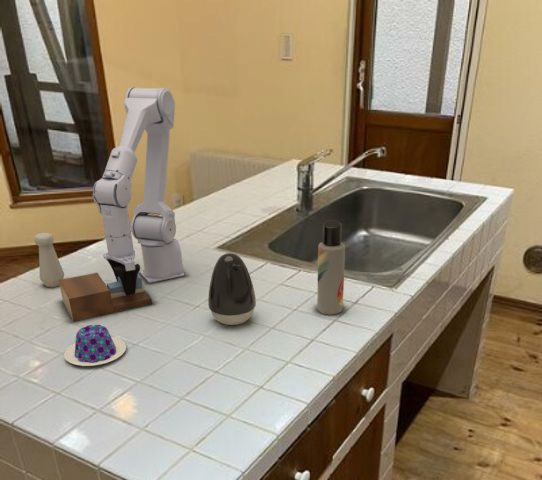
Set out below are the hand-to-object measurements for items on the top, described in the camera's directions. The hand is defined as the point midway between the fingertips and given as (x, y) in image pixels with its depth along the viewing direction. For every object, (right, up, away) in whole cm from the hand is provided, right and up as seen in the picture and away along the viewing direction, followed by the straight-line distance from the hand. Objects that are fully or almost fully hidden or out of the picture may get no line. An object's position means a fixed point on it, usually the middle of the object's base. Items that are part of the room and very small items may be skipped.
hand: (126, 289), depth 143 cm
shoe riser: (-4, -3, -1) cm, 6 cm away
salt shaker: (-21, +2, +10) cm, 23 cm away
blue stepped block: (0, -1, 0) cm, 1 cm away
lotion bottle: (+47, -5, -7) cm, 48 cm away
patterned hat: (-1, -16, -22) cm, 27 cm away
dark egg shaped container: (+26, -8, -10) cm, 29 cm away
